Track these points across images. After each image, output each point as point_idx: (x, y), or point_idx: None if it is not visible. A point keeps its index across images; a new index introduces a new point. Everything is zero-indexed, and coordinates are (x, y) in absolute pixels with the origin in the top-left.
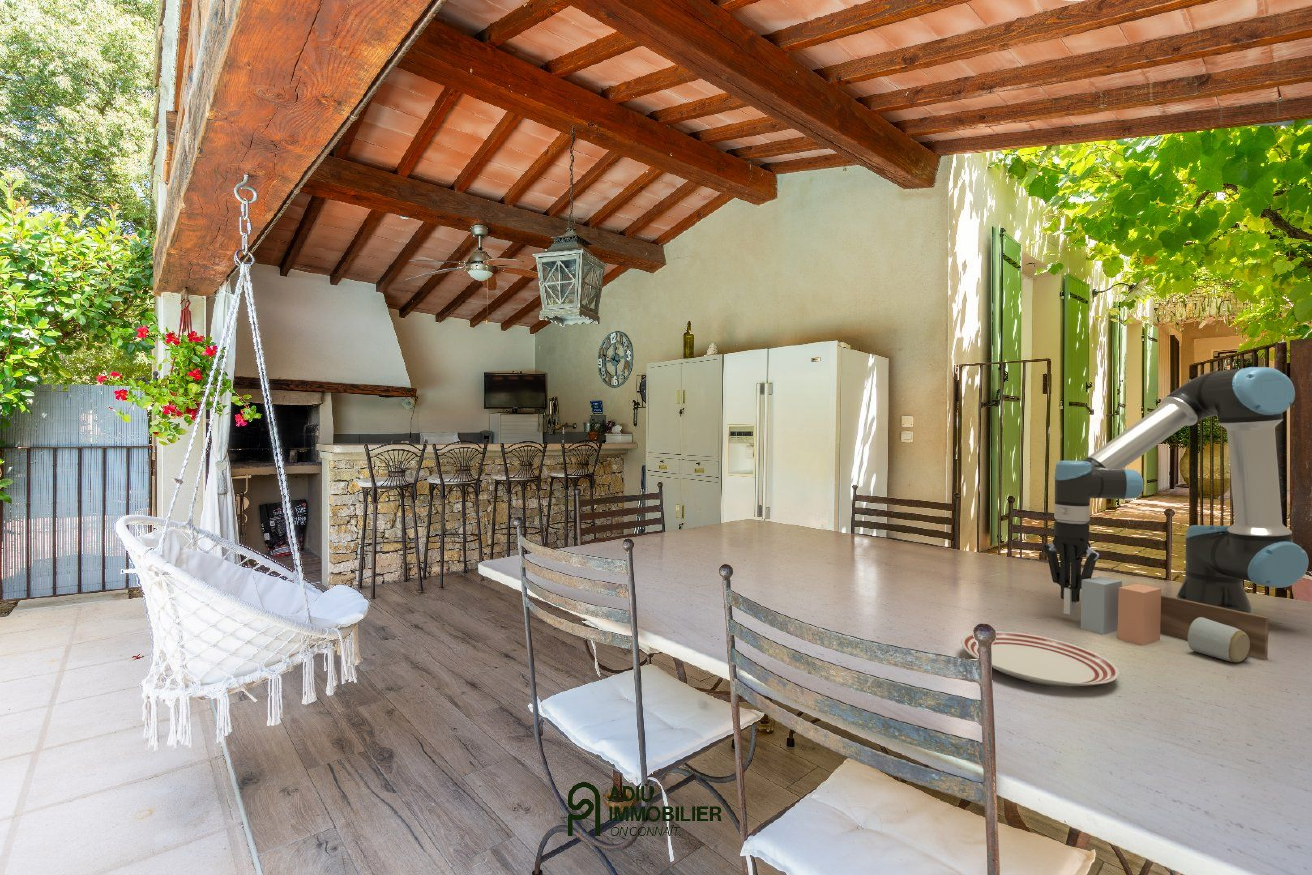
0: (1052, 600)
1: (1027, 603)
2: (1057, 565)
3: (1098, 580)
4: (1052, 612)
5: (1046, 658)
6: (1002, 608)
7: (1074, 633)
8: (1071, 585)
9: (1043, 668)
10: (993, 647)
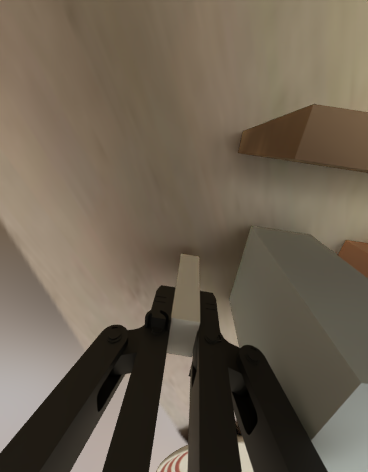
0: (18, 11)
1: (26, 172)
2: (53, 469)
3: (351, 466)
4: (124, 214)
5: (240, 451)
6: (45, 281)
7: (230, 337)
8: (194, 374)
9: (247, 469)
10: (184, 462)
